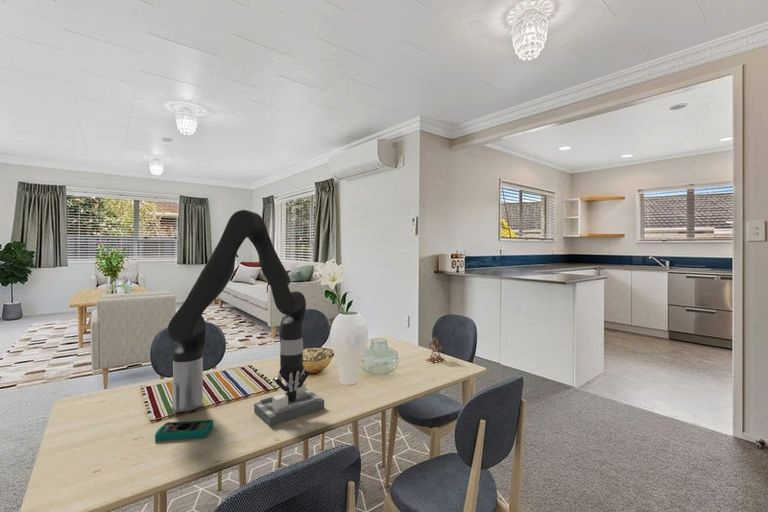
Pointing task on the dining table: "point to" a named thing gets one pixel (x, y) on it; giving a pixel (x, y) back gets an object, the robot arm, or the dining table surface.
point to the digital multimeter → (184, 430)
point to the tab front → (279, 402)
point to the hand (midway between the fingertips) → (291, 401)
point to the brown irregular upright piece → (435, 351)
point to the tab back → (301, 389)
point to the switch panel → (288, 408)
